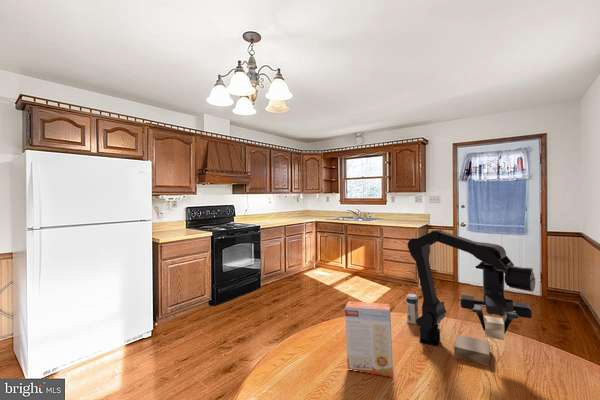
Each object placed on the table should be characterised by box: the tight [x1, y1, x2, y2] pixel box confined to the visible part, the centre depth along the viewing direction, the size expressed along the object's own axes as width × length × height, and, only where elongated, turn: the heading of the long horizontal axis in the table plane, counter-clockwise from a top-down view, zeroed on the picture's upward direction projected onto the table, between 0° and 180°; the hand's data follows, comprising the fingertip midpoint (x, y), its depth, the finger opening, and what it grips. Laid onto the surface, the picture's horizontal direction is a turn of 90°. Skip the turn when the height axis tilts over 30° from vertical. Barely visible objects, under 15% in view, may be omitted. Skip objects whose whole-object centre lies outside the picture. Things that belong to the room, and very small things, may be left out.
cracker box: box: [344, 300, 394, 378], centre depth 93 cm, size 14×6×21 cm, turn 71°
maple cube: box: [483, 315, 505, 341], centre depth 93 cm, size 5×5×5 cm
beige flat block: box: [453, 334, 491, 367], centre depth 99 cm, size 10×10×4 cm
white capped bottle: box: [405, 293, 420, 325], centre depth 126 cm, size 5×5×12 cm
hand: (494, 331), depth 93 cm, fingers closed on maple cube, 5 cm apart
